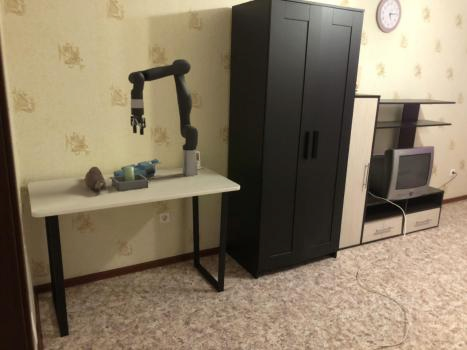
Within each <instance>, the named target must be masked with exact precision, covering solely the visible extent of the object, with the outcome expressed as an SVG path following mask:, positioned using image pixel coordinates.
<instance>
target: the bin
mask: <svg viewBox="0 0 467 350" xmlns="http://www.w3.org/2000/svg"><path fill="white" fill-rule="evenodd" d="M111 186H112V187H113V188H115V190H117V191H118V192H125V191H132V190H141V189H148V188H149V179H148V178H147V177H144V176H142V175H141V174H136V175H134V181H128V182H125V176H118V177H115V176H112V177H111Z"/></svg>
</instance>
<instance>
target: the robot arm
mask: <svg viewBox="0 0 467 350" xmlns="http://www.w3.org/2000/svg"><path fill="white" fill-rule="evenodd" d="M191 69H192V67H191V63H190V61H188V60H187V59H183V58H182V59H175V60H174V61H172V64H169V65H162V66H155V67H151V68H147V69H144V70H138V71H133V72H132V71H131V72H130V74H128V82H129V83H130V84H131V85H132V89H130V126H131V127H132V133H133V134H137V133H138V130H137V129H138V128H137V126H138V127H139V135H140V136H144V135H145V133H144V132H145V131H144V129H146V128H147V123H146V117H143V116H144V115H145V106H144V105H145V104H144V103H145V101H144V89H145V82H153V81H156V80H160V79H164V78H166V77H171V76H173V79H174V84H175V90H176V99H177V106H178V115H179V128H180V129H179V132H180V135H181V137H182V138H183V139H185V143H184V144H182V175H183V176H187V177H189V176H190V177H191V176H192V177H193V176H196V175H198V159H197V147H198V143H199V140H198V139H199V131H198V129H197V127H195V126H193V125H192V124H191V113H192V108H193V100H192V99H193V98H192V93H191V92H190V89H189V87H188V85H187V82H186V79H185V75H187V74H188V73H190V71H191Z"/></svg>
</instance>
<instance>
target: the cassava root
mask: <svg viewBox="0 0 467 350" xmlns="http://www.w3.org/2000/svg"><path fill="white" fill-rule="evenodd" d="M101 171H102V170H101V169H99V167H97V166H91V168H90V169H88V171H87V173H86V174H85V177H84V182H85V186H86V187H87V188H89V189H90V190H96V191H105V190H106V189H107V182H106V179H105V178H104V176H103V174H102V172H101Z"/></svg>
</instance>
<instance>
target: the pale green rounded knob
mask: <svg viewBox="0 0 467 350" xmlns="http://www.w3.org/2000/svg"><path fill="white" fill-rule="evenodd" d="M127 166H128V167H125V166H124V167H125V182H128V181H134V167H132V166H129V165H127Z"/></svg>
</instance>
